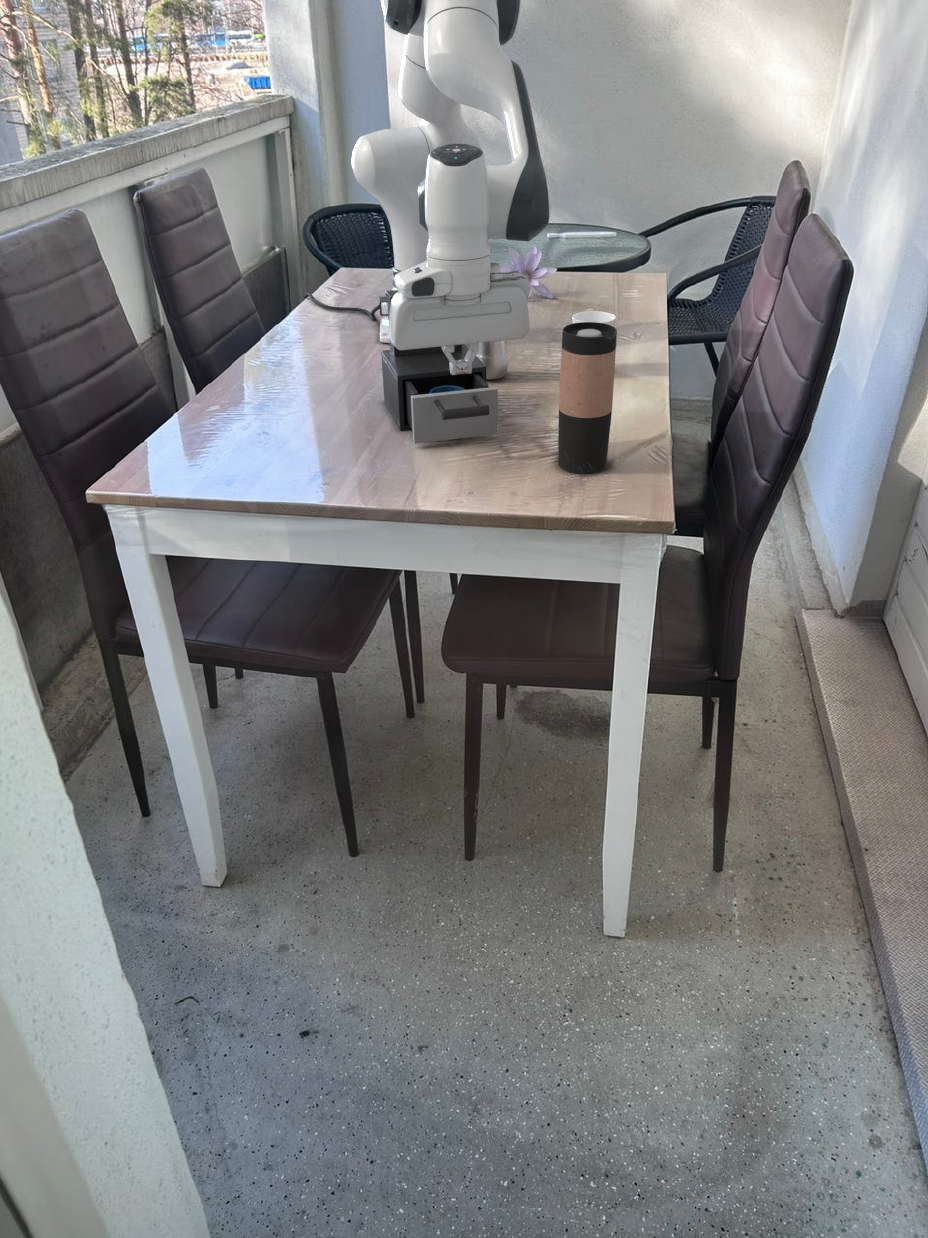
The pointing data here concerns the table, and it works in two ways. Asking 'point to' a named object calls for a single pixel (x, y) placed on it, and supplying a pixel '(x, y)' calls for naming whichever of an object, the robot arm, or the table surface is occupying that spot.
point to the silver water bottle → (494, 348)
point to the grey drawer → (450, 408)
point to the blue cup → (445, 389)
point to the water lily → (530, 269)
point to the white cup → (594, 317)
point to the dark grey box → (416, 375)
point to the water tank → (397, 352)
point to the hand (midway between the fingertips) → (460, 373)
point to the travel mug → (586, 396)
